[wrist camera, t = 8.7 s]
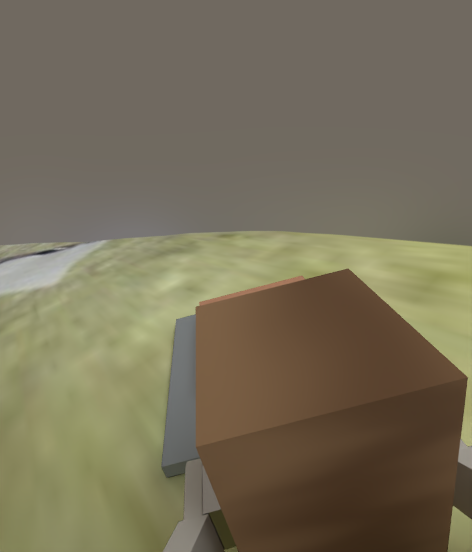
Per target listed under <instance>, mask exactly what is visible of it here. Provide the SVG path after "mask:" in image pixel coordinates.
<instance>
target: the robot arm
mask: <svg viewBox="0 0 472 552" xmlns="http://www.w3.org/2000/svg"><path fill="white" fill-rule="evenodd" d="M453 506H455V507H456V508H457V509H459V510H460V511H461V512H463V513H464V514H465V515H467V516H468V517H469V518H471V519H472V446H468V447H467V445H466V444H465V443H464V442H463V441H462V440H461V439H460V448H459V456H458V465H457V473H456V482H455V490H454V499H453ZM233 547H236V544H235V542H234V539H233V537H232V534H231V532H230V530H229V527H228V525H227V522H226V520H225V517H224V515H223V512H222V510H221V508H220V505H219V503H218V500H217V498H216V495H215V493H214V491H213V488H212V486H211V483H210V481H209V478H208V476H207V473H206V471H205V469H204V466H203V464H202V461H201V459H200V458H199V459H196V460H192V461H188V462H187V463H186V467H185V491H184V520H182V521H179V522H178V524H177V526H176V527H175V529H174V531H173V533H172V535H171V537H170V539H169V541H168V543H167V544H166V546H165V548H164V550H163V552H225V551H224V550H226V549H229V548H233Z"/></svg>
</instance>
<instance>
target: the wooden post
mask: <svg viewBox="0 0 472 552" xmlns="http://www.w3.org/2000/svg"><path fill="white" fill-rule="evenodd" d="M467 379H468V377H467V376H466V375H464V374H463V373H462V372H461V371H460V370H459V369H458V368H457V367H456V366H455V365H454V364H452V363H451V362H450V361H449V360H448V359H447V358H446V357H445V356H444V355H443V354H441V353H440V352H439V351H438V350H437V349H436V348H435V347H434V346H433V345H432V344H430V343H429V342H428V341H427V340H426V339H425V338H424V337H423V336H422V335H421V334H420V333H418V332H417V331H416V330H415V329H414V328H413V327H412V326H411V325H410V324H409V323H407V322H406V321H405V320H404V319H403V318H402V317H401V316H400V315H399V314H398V313H396V312H395V311H394V310H393V309H392V308H391V307H390V306H389V305H388V304H387V303H386V302H384V301H383V300H382V299H381V298H380V297H379V296H378V295H377V294H376V293H375V292H373V291H372V290H371V289H370V288H369V287H368V286H367V285H366V284H365V283H364V282H362V281H361V280H360V279H359V278H358V277H357V276H356V275H355V274H354V273H353V272H352V271H350V270H349V269H345V270H341V271H337V272H333V273H329V274H325V275H321V276H317V277H313V278H309V279H305V280H301V281H297V282H293V283H289V284H285V285H281V286H277V287H273V288H269V289H265V290H261V291H257V292H253V293H249V294H245V295H241V296H237V297H233V298H229V299H225V300H221V301H217V302H213V303H209V304H205V305H201V306H197V307H196V449H197V451H198V454H199V456H200V459H201V461H202V464H203V466H204V469H205V471H206V473H207V476H208V478H209V481H210V483H211V486H212V488H213V491H214V493H215V495H216V498H217V500H218V503H219V505H220V508H221V510H222V512H223V515H224V517H225V520H226V522H227V525H228V527H229V530H230V532H231V534H232V537H233V539H234V542H235V544H236V547H237V549H238V552H447V550H448V541H449V533H450V524H451V516H452V507H453V499H454V490H455V482H456V473H457V465H458V456H459V448H460V439H461V430H462V422H463V413H464V405H465V396H466V388H467Z"/></svg>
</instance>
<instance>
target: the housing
mask: <svg viewBox="0 0 472 552" xmlns="http://www.w3.org/2000/svg"><path fill="white" fill-rule="evenodd" d="M301 280H305V279H304V277H303V276H299V277H295V278H291V279H287V280H283V281H279V282H275V283H272V284H268V285H264V286H260V287H256V288H252V289H248V290H245V291H241V292H237V293H233V294H229V295H225V296H221V297H218V298H214V299H210V300H206V301H202V302H199V303H200V306H201V305H205V304H209V303H213V302H217V301H221V300H225V299H229V298H233V297H237V296H241V295H245V294H249V293H253V292H257V291H261V290H265V289H269V288H273V287H277V286H281V285H285V284H289V283H293V282H297V281H301ZM199 458H200V456H199V454H198V451H197V449H196V314H195V315H191V316H187V317H184V318H180V319H176V328H175V338H174V348H173V357H172V367H171V377H170V387H169V397H168V407H167V417H166V427H165V436H164V446H163V456H162V466H161V467H162V469H163V471H164V473H165V475H166V477H171V476H175V475H179V474H183V473H185V467H186V463H187V462H188V461H192V460H196V459H199Z"/></svg>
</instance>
